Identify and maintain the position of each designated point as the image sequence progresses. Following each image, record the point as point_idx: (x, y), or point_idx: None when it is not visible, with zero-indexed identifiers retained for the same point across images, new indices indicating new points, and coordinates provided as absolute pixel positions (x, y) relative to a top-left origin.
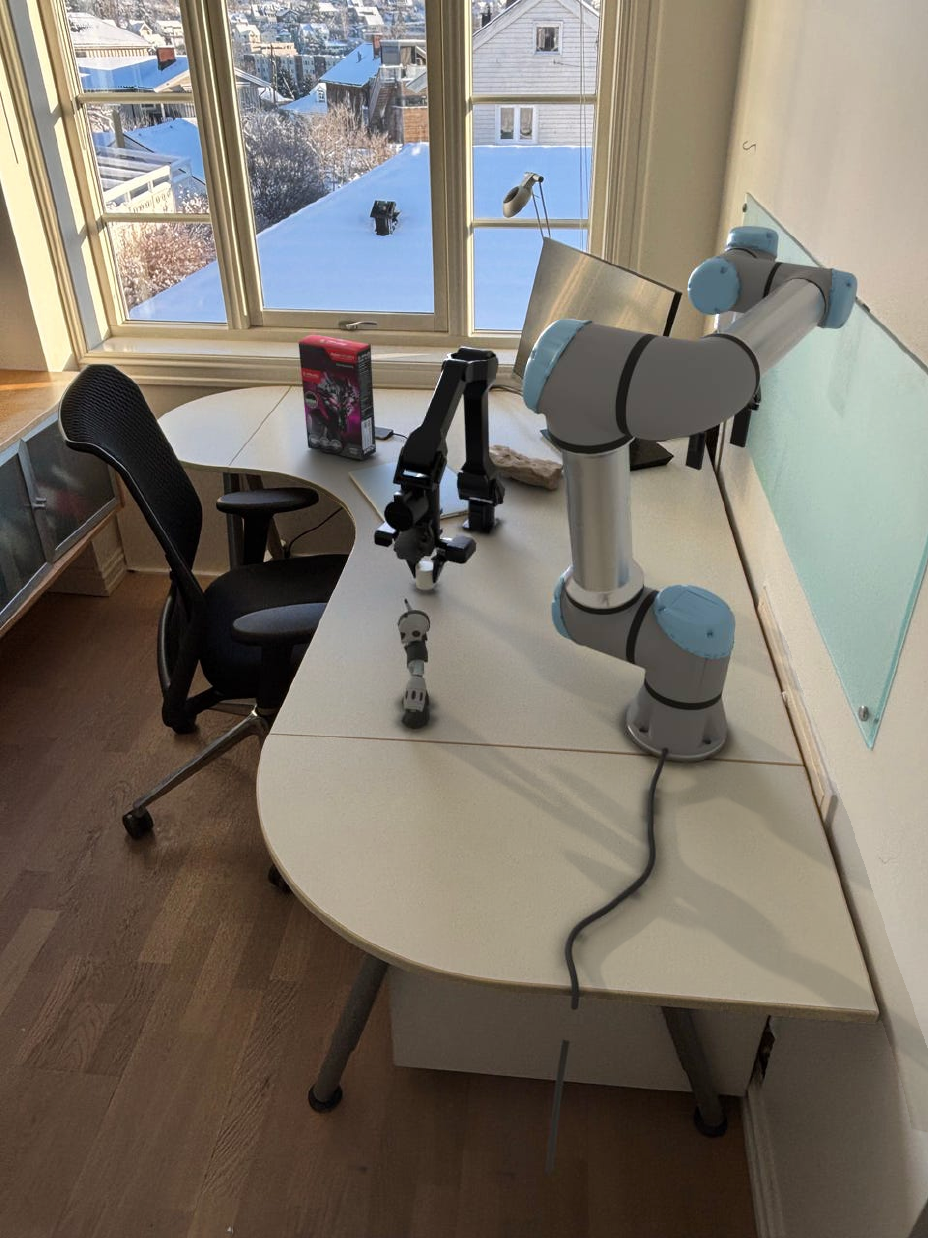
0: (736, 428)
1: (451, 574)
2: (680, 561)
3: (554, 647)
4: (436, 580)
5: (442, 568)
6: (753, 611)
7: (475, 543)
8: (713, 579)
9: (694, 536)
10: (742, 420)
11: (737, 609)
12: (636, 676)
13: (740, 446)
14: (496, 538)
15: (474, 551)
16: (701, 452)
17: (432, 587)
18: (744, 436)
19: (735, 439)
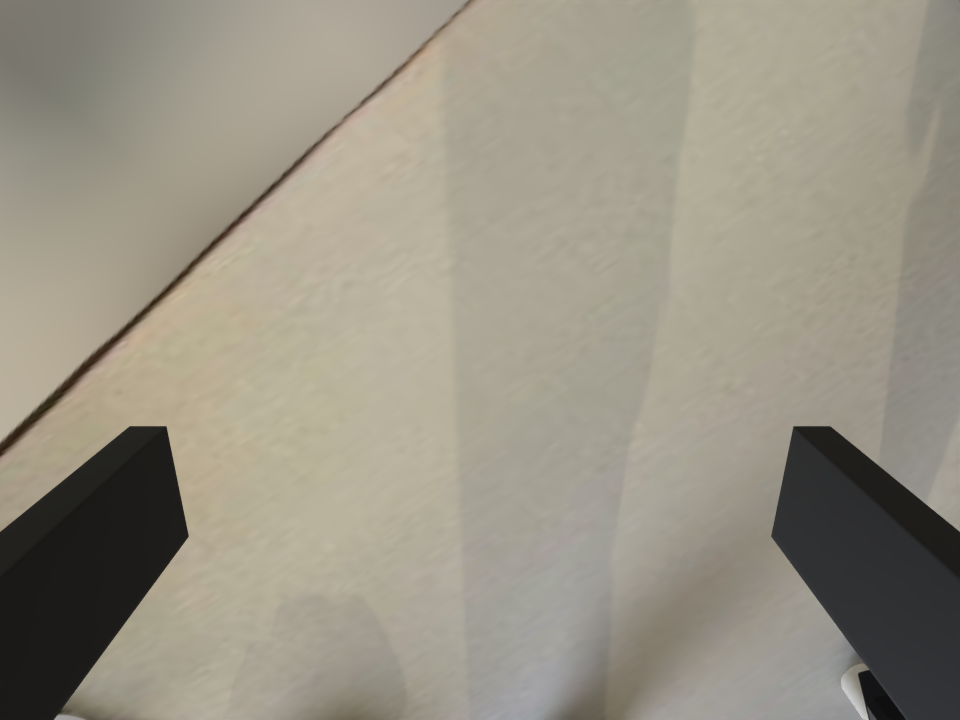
0: (98, 606)
1: (776, 673)
2: (336, 380)
3: (905, 355)
4: (869, 675)
5: (865, 695)
6: (400, 77)
7: (894, 718)
8: (343, 264)
9: (195, 429)
10: (6, 649)
11: (427, 120)
12: (907, 131)
13: (169, 448)
14: (584, 706)
15: (887, 697)
16: (945, 521)
17: (865, 664)
18: (107, 484)
19: (156, 524)
